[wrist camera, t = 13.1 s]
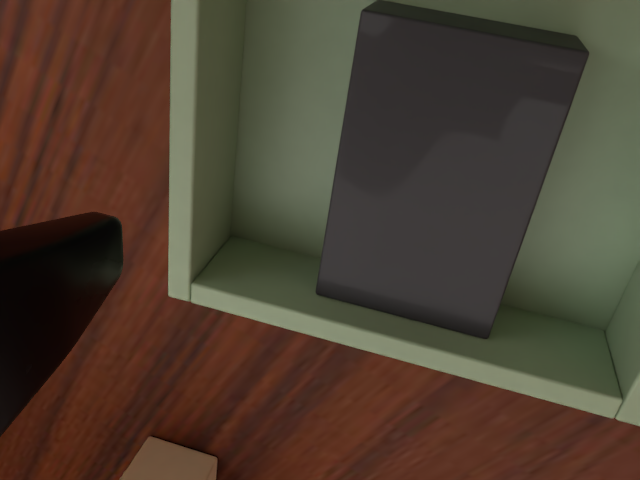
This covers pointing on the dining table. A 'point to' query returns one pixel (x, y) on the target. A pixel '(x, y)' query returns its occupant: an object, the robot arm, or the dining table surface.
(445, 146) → the dark grey flat block
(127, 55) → the dining table surface
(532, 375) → the case
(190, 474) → the stand
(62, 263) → the robot arm
